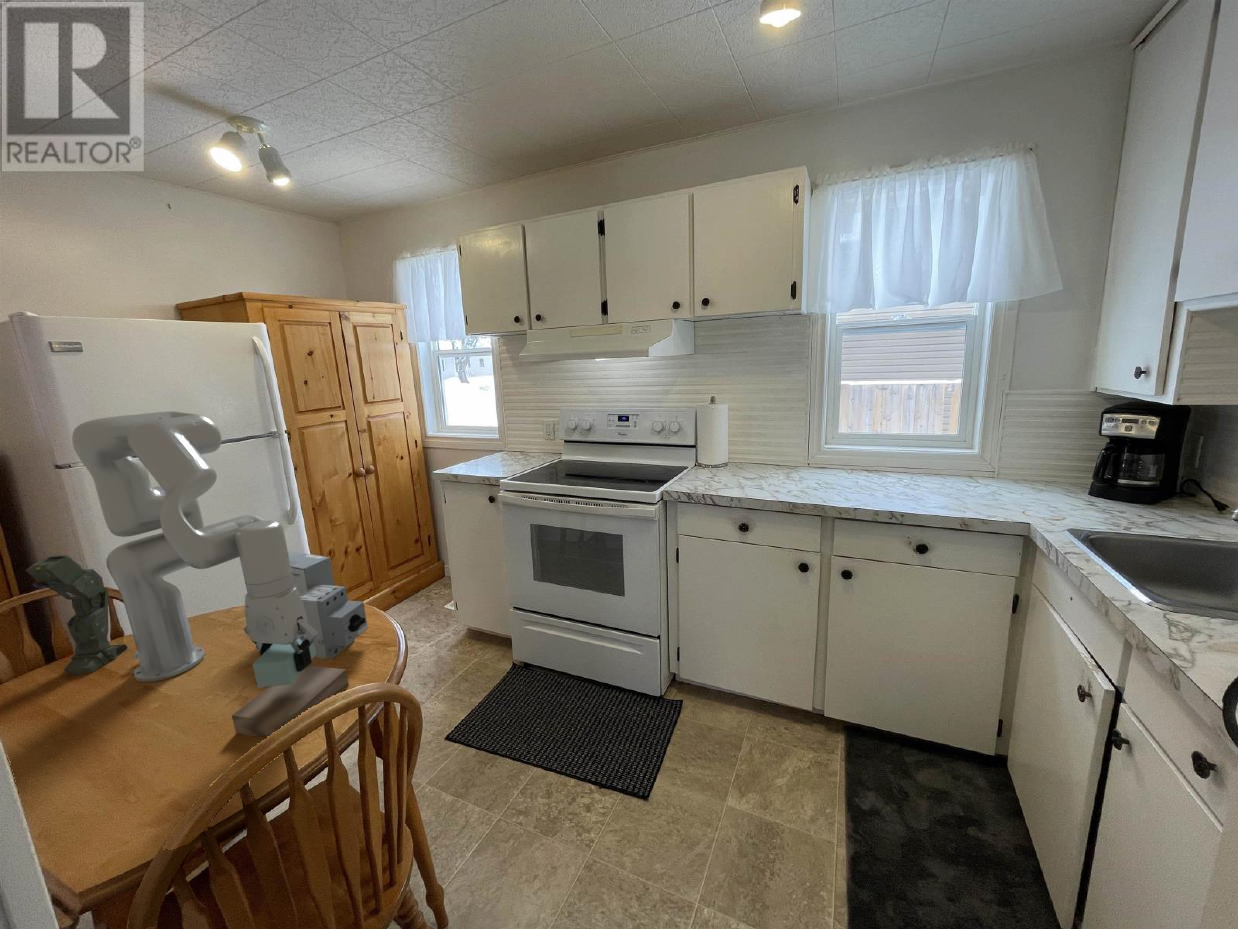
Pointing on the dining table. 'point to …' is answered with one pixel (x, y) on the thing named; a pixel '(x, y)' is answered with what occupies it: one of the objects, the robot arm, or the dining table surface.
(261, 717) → the stand
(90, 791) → the dining table surface
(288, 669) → the light teal rectangular block
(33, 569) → the mechanical leg
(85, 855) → the dining table surface
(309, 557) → the grey switch module
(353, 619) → the circuit breaker
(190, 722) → the dining table surface
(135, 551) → the robot arm
